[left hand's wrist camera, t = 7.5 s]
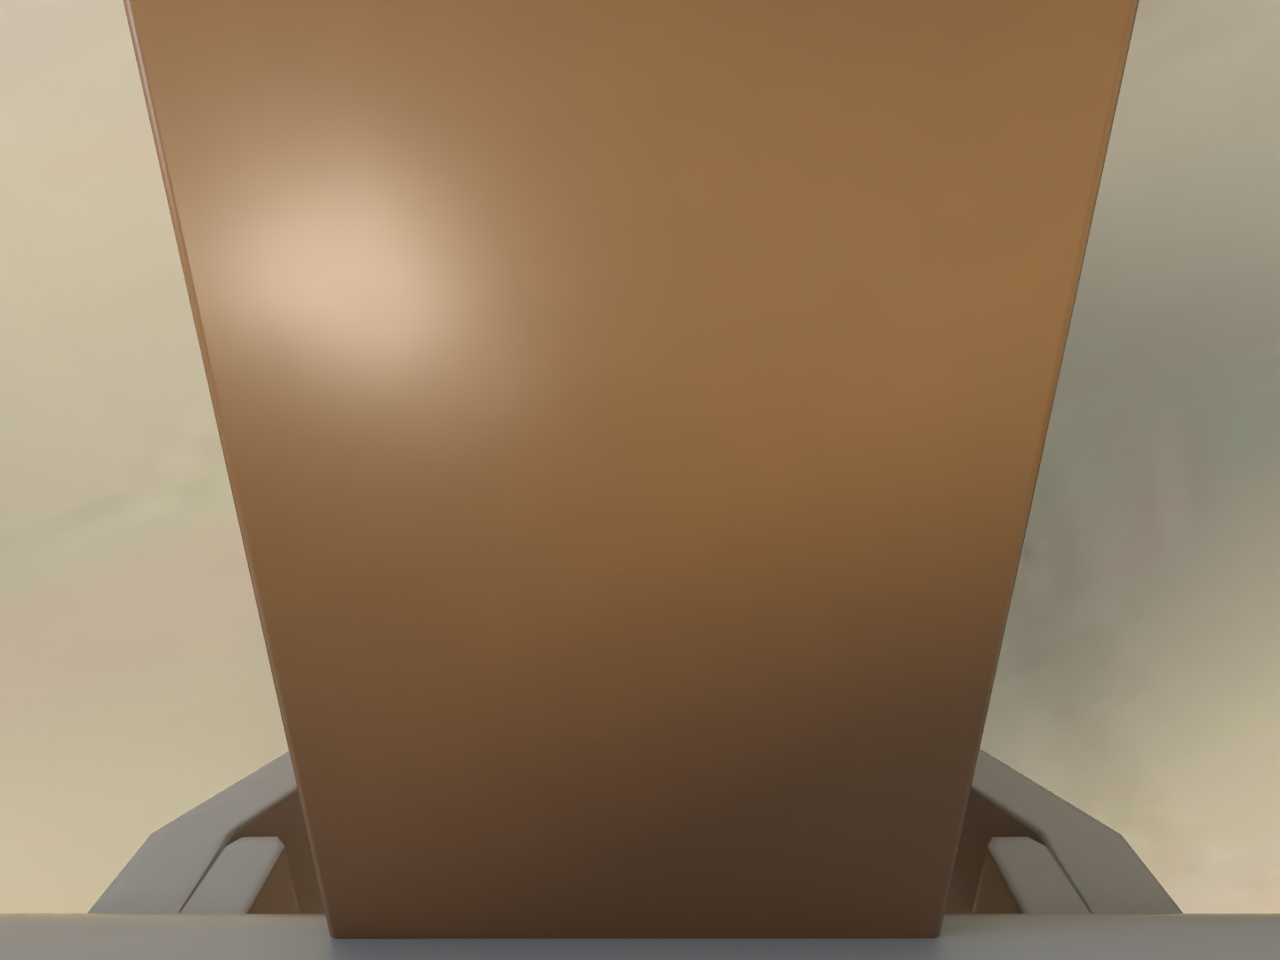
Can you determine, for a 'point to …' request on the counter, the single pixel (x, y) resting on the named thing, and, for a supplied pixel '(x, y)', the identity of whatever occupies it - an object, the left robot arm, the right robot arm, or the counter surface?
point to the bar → (632, 430)
